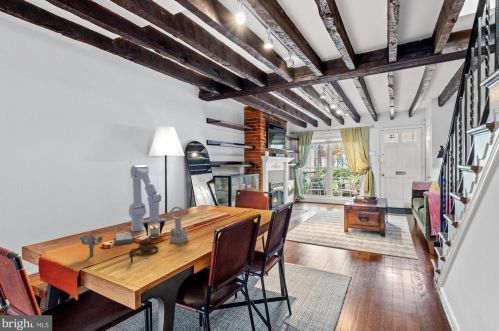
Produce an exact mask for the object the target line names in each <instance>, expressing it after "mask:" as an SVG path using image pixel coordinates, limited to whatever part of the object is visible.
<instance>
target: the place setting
mask: <svg viewBox="0 0 499 331" xmlns="http://www.w3.org/2000/svg"><path fill="white" fill-rule="evenodd" d="M138 246H139V247H135V248H131V250H129V251H128V256H129V258H130V264H134V262H133V261H134V259H133V258H134V257H135V255H136V256H140V257H141V256H144V257H145V256H151V255H155V254H156V253H157V252H158V251H159V246H156V245H154V242H153V241H142V242H140V243H139V244H138ZM153 249H155V250H154V251H152V250H153ZM138 251H141V253H140V252H138ZM151 251H152V252H151ZM145 259H147V260H149V258H148V257H145Z"/></svg>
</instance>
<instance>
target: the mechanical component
mask: <svg viewBox="0 0 499 331" xmlns="http://www.w3.org/2000/svg"><path fill="white" fill-rule="evenodd" d="M79 238H80V242H81V244H82V245H87V246H88V247H87V248H88V249H89V258H92V257H93V256H94V248H95V246H97V245H99V244H101V243H102V240H103V236H98V237H97V238H96V236H95V235H87V234H86V235H85V234H84V235H82V236H80V237H79Z"/></svg>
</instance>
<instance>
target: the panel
mask: <svg viewBox="0 0 499 331" xmlns="http://www.w3.org/2000/svg"><path fill="white" fill-rule="evenodd" d="M114 241H115V242H114V245H115V244H116V245H117V246H118V245H126V244H127V245H128V244H133V242H134V239H133V234H132V232H131V231H130V232H121V233H116V234H115V235H114ZM116 245H115V246H116Z"/></svg>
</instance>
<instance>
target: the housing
mask: <svg viewBox="0 0 499 331" xmlns="http://www.w3.org/2000/svg"><path fill="white" fill-rule="evenodd" d="M149 234H150V236H151V237H155V239H159V238H160V237H159V235H160V227H158V225H155V224H154V225H148V235H149ZM150 236H149V237H150Z"/></svg>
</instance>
